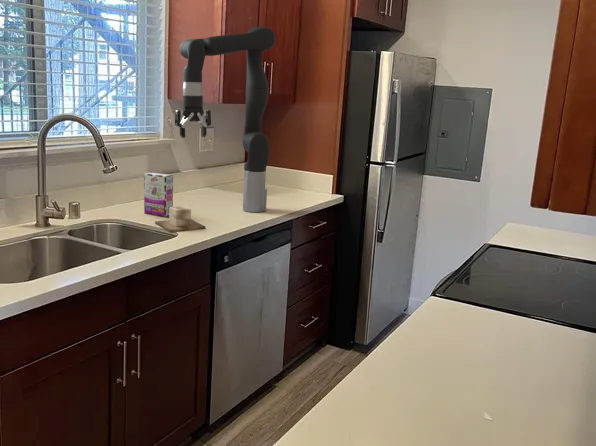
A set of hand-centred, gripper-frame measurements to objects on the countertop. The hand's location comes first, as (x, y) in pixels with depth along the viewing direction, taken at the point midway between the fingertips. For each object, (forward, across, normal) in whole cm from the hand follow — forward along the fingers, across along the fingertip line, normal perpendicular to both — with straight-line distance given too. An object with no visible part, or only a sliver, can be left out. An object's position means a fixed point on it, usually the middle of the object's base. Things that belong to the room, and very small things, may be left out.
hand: (193, 137), depth 227 cm
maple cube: (+31, +11, +12) cm, 35 cm away
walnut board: (+31, +11, +12) cm, 35 cm away
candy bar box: (+32, +11, -9) cm, 35 cm away
